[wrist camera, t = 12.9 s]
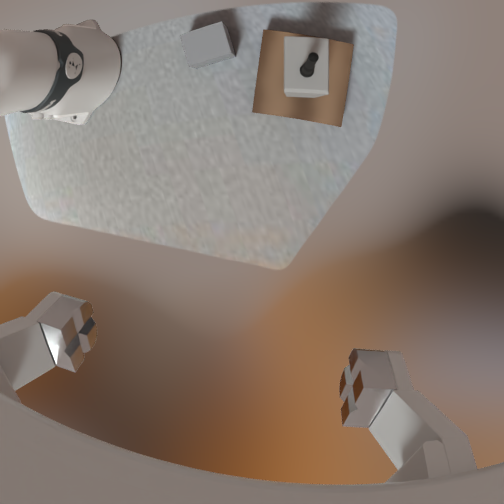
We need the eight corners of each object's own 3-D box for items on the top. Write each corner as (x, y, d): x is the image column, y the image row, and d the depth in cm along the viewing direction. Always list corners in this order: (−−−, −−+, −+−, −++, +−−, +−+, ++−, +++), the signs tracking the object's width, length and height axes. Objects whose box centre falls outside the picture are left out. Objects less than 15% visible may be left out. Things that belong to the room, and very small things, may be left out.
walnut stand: (254, 111, 43) (252, 112, 40) (265, 33, 37) (263, 29, 35) (338, 125, 42) (341, 127, 40) (349, 48, 37) (353, 44, 34)
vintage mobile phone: (315, 62, 36) (345, 12, 14) (314, 98, 38) (345, 90, 16) (286, 61, 36) (280, 8, 14) (286, 96, 39) (280, 86, 16)
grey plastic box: (196, 69, 41) (188, 66, 37) (188, 40, 39) (179, 35, 35) (236, 57, 40) (231, 52, 36) (227, 27, 38) (221, 21, 34)
